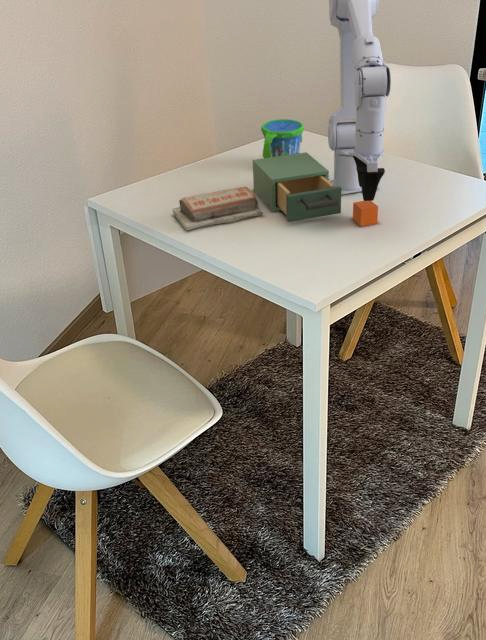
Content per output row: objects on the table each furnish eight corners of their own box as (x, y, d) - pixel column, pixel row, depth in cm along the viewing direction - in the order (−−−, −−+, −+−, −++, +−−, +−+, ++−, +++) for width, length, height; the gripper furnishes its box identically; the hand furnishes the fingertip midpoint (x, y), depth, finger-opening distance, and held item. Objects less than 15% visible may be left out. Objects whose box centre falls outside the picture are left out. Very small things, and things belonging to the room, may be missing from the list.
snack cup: (280, 177, 181) (279, 137, 175) (248, 169, 186) (246, 129, 181) (317, 160, 191) (317, 120, 185) (285, 152, 196) (285, 114, 191)
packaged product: (244, 180, 167) (262, 195, 159) (245, 200, 169) (262, 216, 162) (169, 194, 161) (184, 210, 153) (172, 215, 163) (186, 232, 156)
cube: (369, 216, 160) (370, 199, 158) (377, 223, 157) (378, 206, 155) (352, 219, 159) (353, 202, 157) (360, 226, 156) (361, 209, 154)
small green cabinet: (328, 202, 167) (328, 170, 163) (272, 212, 164) (271, 179, 159) (306, 182, 178) (306, 152, 173) (253, 190, 174) (252, 159, 170)
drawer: (349, 221, 156) (350, 195, 153) (296, 230, 153) (296, 204, 150) (319, 193, 170) (319, 169, 166) (269, 201, 166) (268, 176, 163)
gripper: (346, 118, 153) (344, 181, 160) (353, 141, 141) (350, 207, 149) (380, 118, 153) (376, 180, 160) (389, 140, 141) (385, 206, 148)
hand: (366, 193), depth 154 cm, fingers open, 7 cm apart
